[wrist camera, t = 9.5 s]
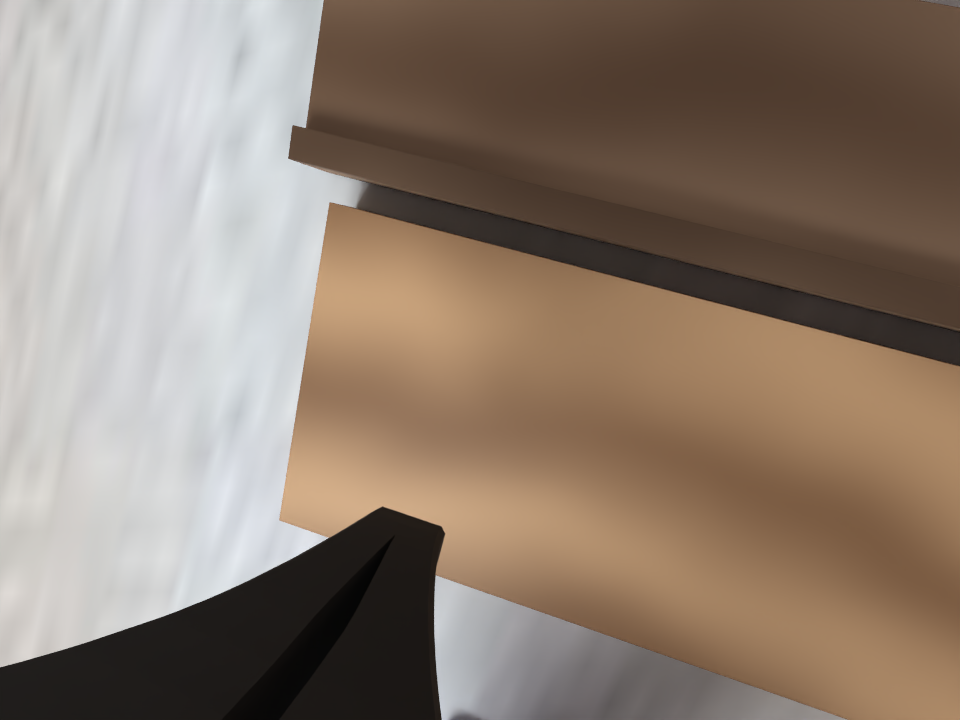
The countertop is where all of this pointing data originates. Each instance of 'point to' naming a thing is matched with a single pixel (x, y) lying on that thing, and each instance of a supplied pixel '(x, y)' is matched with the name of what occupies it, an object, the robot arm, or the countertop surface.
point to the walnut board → (670, 130)
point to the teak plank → (642, 462)
